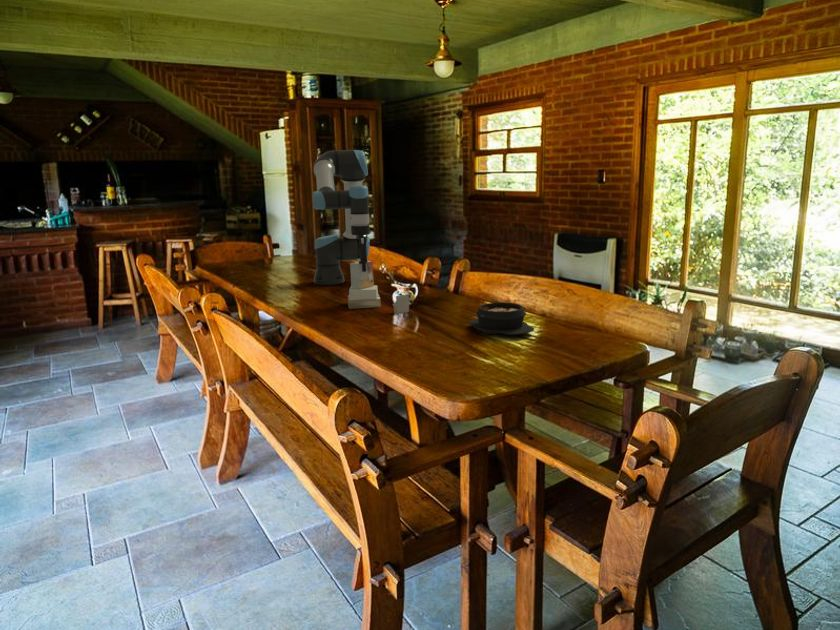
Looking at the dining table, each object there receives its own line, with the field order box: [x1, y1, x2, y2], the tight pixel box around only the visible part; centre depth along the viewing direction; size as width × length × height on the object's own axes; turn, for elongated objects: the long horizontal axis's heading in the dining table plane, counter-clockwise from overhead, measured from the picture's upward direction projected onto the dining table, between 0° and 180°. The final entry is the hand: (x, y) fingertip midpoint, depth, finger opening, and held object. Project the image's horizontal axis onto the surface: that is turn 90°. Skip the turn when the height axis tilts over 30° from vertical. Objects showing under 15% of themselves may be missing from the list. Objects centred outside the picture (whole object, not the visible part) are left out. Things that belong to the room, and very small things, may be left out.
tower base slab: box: [347, 293, 382, 310], centre depth 249 cm, size 11×13×4 cm
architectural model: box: [391, 293, 412, 315], centre depth 235 cm, size 3×7×7 cm, turn 123°
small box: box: [349, 260, 375, 289], centre depth 247 cm, size 8×6×10 cm
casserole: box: [468, 302, 535, 336], centre depth 204 cm, size 25×19×8 cm
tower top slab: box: [348, 284, 379, 300], centre depth 247 cm, size 9×11×4 cm
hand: (362, 276), depth 247 cm, fingers open, 13 cm apart
